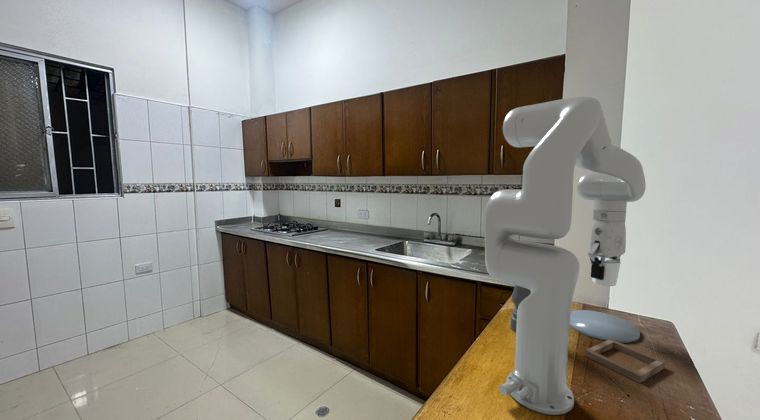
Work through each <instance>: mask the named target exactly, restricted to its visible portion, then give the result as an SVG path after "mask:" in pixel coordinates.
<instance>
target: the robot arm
mask: <svg viewBox="0 0 760 420" xmlns="http://www.w3.org/2000/svg"><path fill="white" fill-rule="evenodd" d="M502 123H503V124H502V133H503V136H504V139H505V141H506V142H507V143H508V144H509V145H510V146H511V147H513V148H529V147H530V148H531V147H533V149H532V150H531V151H530V152H529V154H528V156H527V157H526V159H525V161H524V163H523V168H522V185H521V186H522V187H521V189H512V188H511V189H507V188H505V189H501V190H497V191H495V192H494V193H493V194H492V195H491V196H490V197H489V199H488V201H487V203H486V206H485V210H484V261H485V263H484V264H485V267H486V271H487V273H488V274H489V276H490V277H491V278H493V279H495V280H496V281H500V282H503V283H506V284H511V285H514V286H515V285H517V286H521V287H523V288H526V289H529V290H530V291H531V294H530V295H529V296H528V297H526V298H525V299H524V300H523V301H522V302H521V303H520V304H519V306H518V310H517V327H516V332H515V348H514V349H515V353H514V354H515V356H514V370H513V371H511V372H510V373H508V375H507V376H506V381H505V383H502V384H499V387H498V390H499V393H501V395H502V396H505V397H506V396H508V395H510V396H511V397H512V398H513V399H514V400H515V401H516V402H518V403H519V404H520V405H522V406H524V407H525V408H527V409H529V410H531V411H535V412H537V413H541V414H544V415H550V416H551V415H553V416H555V415H556V416H558V415H564V414H567V413H568V412H570V411H571V410H572V409H573V408H574V404H575V397H574V393H573V392H572V390H571V389H570V388H569V386H568V385H567V371H568V358H569V357H568V356H569V343H570V342H569V341H570V328H571V327H570V315H571V311H572V305H573V299H574V293H575V289H576V286H577V283H578V279H579V275H580V263H579V259H578V258H577V256H576V255H575V254H574V253H573V252H571V251H570V250H568V249H565V248H564V247H560V246H557V245H552V244H546V243H539V242H534V241H526V240H519V239H515V238H514V236H518V237H525V238H534V239H541V240H551V241H552V240H560V239H563V238H565V237H566V236H567V235H568V233H569V232H570V230H571V226H572V216H573V212H572V211H573V197H574V196H573V193H574V191H573V190H574V173H575V166H577V167H578V168H581V169H583V170H587V171H590V173H586V174H584V175H582V176H581V177H580V178H579V179H578V181H577V184H576V189H577V190H576V191H577V194H578V195H579V196H580V197H581V198H582V199H585V200H588V201H593V215H592V216H593V217H592V221H593V223H592V227H591V228H592V230H591V235H590V243H589V244H590V246H589V250H588V252H587V253H588V257H589V260H590V265H591V267H590V278H591V279H592V278H596V279H599V280H603V279H604V268H605V266H603V264H604V261H605V258H612V259H616V260H619V261H620V262H621V256H622V255H624V254H625V253H626V243H627V241H626V240H627V234H626V233H627V228H626V218H627V217H626V216H627V206H628V203H633V202H636V201H640V199H641V198H642V197H643V196H644V194H645V191H646V186H647V185H646V176H645V173H644V168H643V166H642V163H641V162H640V160H639V159H638V158H637V157H636V156H634V155H633V154H632V153H629V151H626V150H625V149H623V148H622V147H619V146H616V145H614V144H613V142H612V139H611V137H610V133H609V129H608V125H607V123H606V118H605V114H604V111H603V108H602V105H601V102H600V101H599V100H598V98H595V97H592V96H576V97H568V98H562V99H561V98H560V99H557V100H556V99H555V100H551V101H550V100H549V101H546V102H541V103H535V104H530V105H524V106H519V107H516V108H514V109H511V110H510V111H509V112H508V113H507V114H506V116H505V118H504V120H503V122H502ZM597 257H600V258H601V259H600V260H599V259H598V258H597Z"/></svg>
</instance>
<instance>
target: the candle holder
mask: <svg viewBox="0 0 760 420" xmlns="http://www.w3.org/2000/svg"><path fill="white" fill-rule="evenodd" d="M530 294H531V291H530V290H529V289H526V288H523V287H521V286H517V285H514V287H513V291H512V294H511V301H512V302H513V304H514V308H513V310H512V311H511V315H510V329H511V330H512V331H514V332H515V333H516V327H517V310H518V306H519V304H520V303H521V302H522V301H523V300H524V299H525V298H526V297H528V296H529V295H530Z"/></svg>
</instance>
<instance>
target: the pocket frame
mask: <svg viewBox="0 0 760 420" xmlns="http://www.w3.org/2000/svg"><path fill="white" fill-rule="evenodd" d="M612 349H615V350H617V351H619V352H622V353H624V354H626V355H628V356H630V357H633V358H635V359H638V360H639V361H642V362H644V363H647V365H645V366H644V367H642V368H640V369H638V370H634V369H632V368H630V367H628V366H625V365H624V364H622V363H619V362H617V361H615V360H614V359H611V358H609V357H607V356H605V355H603V353H605V352H607V351H610V350H612ZM584 352H585V353H584V355H585V356H584V357H586V358H588V359H590V360H591V361H592V360H593V361H595V362H596V363H599V364H600V365H603V366H604V367H606V368H608V369H611V370H612V371H615V372H616V373H618V374H621V375H622V376H624V377H626V378H629V379H630V380H633V381H634V382H637V383H638V384H642V383H643V382H644V381H646V380H648V379H650V378H651V377H652V376H654V375H656V374H658V373H659V372H661V371H662V370H664V369H666V361H664V360H662V359H660V358H658V357H655V356H653V355H650V354H649V353H646V352H643V351H641V350H638V349H636V348H634V347H631V346H629V345H627V344H624V343H620V342H618V341H615V340H613V339H609V340H607V341H605V340H604V341H602V342H600V343H598V344H596V345H594V346H592V347H589V348H587V349H585V351H584Z"/></svg>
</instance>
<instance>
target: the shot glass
mask: <svg viewBox="0 0 760 420" xmlns="http://www.w3.org/2000/svg"><path fill="white" fill-rule="evenodd" d="M597 258H598V259H599V260H600V259H601V258H600V257H597ZM621 263H622V262H621V260H620V261H619V260H616V259H612V258H605V261H604V264H603V266H605V268H604V279H603V280H599V279H596V278H592V277H591V279H592V283H594V284H597V285H600V286H605V287H616V286H617V281H618V277H619V272H620V268H621Z"/></svg>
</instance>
